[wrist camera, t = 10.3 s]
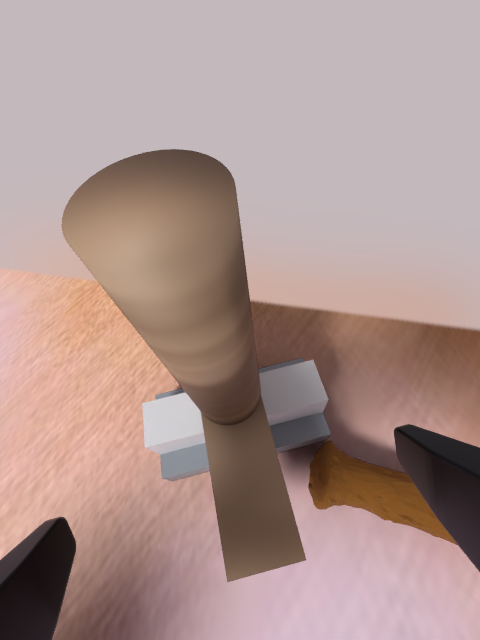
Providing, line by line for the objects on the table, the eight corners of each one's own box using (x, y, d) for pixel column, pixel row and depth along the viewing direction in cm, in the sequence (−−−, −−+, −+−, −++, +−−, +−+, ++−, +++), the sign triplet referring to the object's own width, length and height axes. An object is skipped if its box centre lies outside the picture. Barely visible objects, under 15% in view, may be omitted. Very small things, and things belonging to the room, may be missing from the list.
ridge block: (300, 369, 22) (305, 340, 18) (325, 440, 19) (338, 424, 15) (165, 403, 22) (141, 381, 18) (172, 480, 19) (146, 474, 15)
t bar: (304, 552, 13) (470, 823, 2) (231, 572, 13) (-43, 989, 2) (234, 296, 20) (185, 48, 9) (187, 308, 20) (82, 70, 9)
